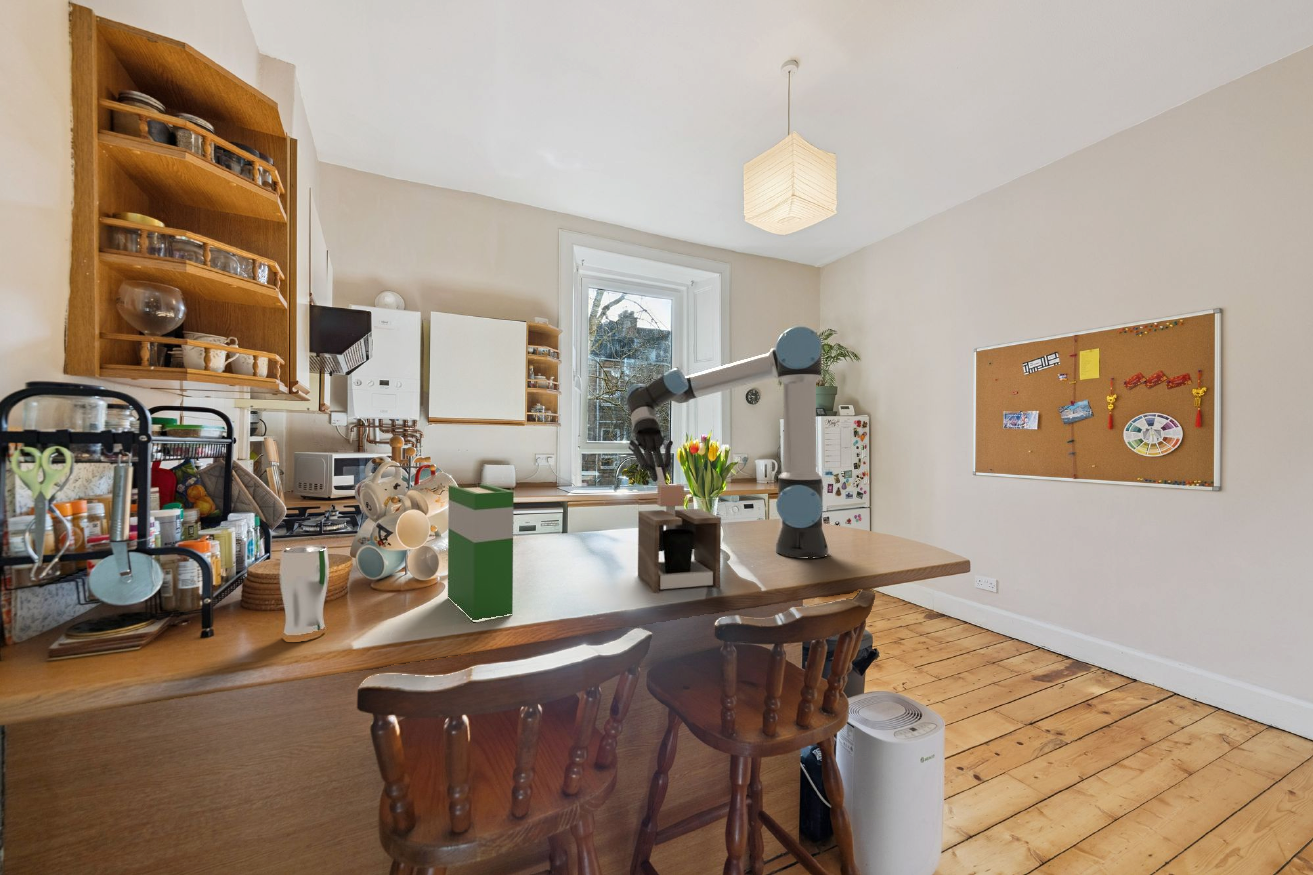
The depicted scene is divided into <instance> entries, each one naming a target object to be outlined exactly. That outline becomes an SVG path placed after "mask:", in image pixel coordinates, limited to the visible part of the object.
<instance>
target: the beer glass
mask: <svg viewBox="0 0 1313 875" xmlns="http://www.w3.org/2000/svg"><path fill="white" fill-rule="evenodd" d="M280 553H281V554H280V555H281V556H280V565H279V566H280V567H279V587H280V594H281V598H282V602H283V607H284V611H285V625H284V628H283V629H284V630H283V633H285V634H286V635H301V634H306V633H312V632H313V631H318V630H320V629H323V628H324V627H325V628H326V624H325V621H324V605H325V600H326V596H327V590H328V585H329V584H328V583H329V579H330V578H329V576H330V574H329V573H330V563H329V561H330V560H329V552H328V546H327V545H324V544H307V545H306V544H305V545H300V546H299V545H298V546H292V547H288V548H285V549H282V550H281V552H280Z"/></svg>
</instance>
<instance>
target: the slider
mask: <svg viewBox="0 0 1313 875" xmlns="http://www.w3.org/2000/svg"><path fill="white" fill-rule="evenodd" d="M656 500H657V501H656V502H657V504H656V505H657V506H659V507H661V508H662V507H663V508H664V507H665V511H666V512H668V513H670V514H672V515H674V516H675V510H676V507H684V505H685V485H684V484H683V485H682V484H666V485H658V488H657V498H656ZM667 529H675V525H665V530H667ZM703 586H713V572H712V571H711V570H709V569H708V568H706V567H705V566H703V565H701V564H700V563H698V562H697V561H695V560H694V558H691V568H690V572H686V573H672V574H665V562H664V560H659V589H658V590H666V589H667V590H669V589H679V588H693V587H703Z"/></svg>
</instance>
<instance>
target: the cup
mask: <svg viewBox="0 0 1313 875" xmlns="http://www.w3.org/2000/svg"><path fill="white" fill-rule="evenodd" d="M662 536H663V549H664V551H663V557H664V558H663V559H664V560H663V561H664V562H665V574H672V573H686V572H690V568H691V559H693V558H692V557H693V549H692V548H693V539H694V532H693V531H691V530H687V529H667V530H666V529H664V530H663V531H662Z"/></svg>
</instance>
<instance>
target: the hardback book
mask: <svg viewBox="0 0 1313 875" xmlns="http://www.w3.org/2000/svg"><path fill="white" fill-rule="evenodd" d="M514 495H515V494H514V491H513V490H508V489H505V488H502V487H497V486H493V485H489V484H486V483H480V484H479V487H463V488H462V487H460V486H457V485H448V512H447V513H448V517H447V518H448V520H447V521H448V525H447V529H448V531H447V532H448V533H447V534H448V537H447V540H448V542H447V546H448V547H447V549H448V550H447V598H448V597H449V598H450V599H451V600H452V601H453V602H454V603H455V604H457V606H459V607H460V608H461V609H462V610H463V611H464V612H465V613H466V614H467V615H468V616H469V617H470V618H472V620H479V619H482V618H491V617H496V616H504V615H507V614H512V615H514V614H513V612H514V611H513V606H514V604H513V597H514V596H513V595H514V593H513V590H514V567H513V566H514V500H515V499H514Z"/></svg>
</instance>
